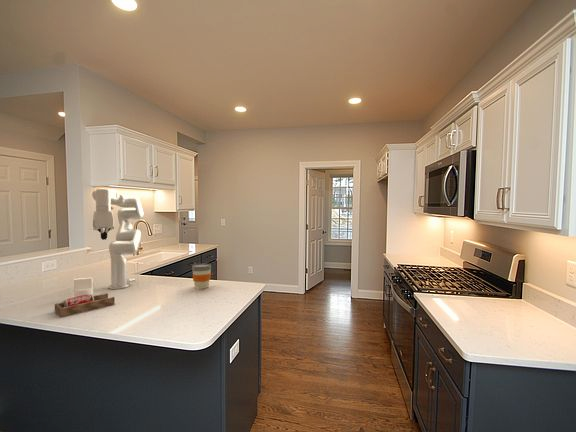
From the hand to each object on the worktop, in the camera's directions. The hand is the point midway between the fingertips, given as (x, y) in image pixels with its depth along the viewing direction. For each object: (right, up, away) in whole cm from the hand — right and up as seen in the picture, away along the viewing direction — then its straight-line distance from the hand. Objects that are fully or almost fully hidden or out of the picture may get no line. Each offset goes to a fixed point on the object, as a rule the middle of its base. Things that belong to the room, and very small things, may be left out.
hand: (104, 239), depth 168 cm
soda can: (+3, -32, -14) cm, 35 cm away
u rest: (+2, -36, -17) cm, 40 cm away
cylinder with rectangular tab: (-11, -35, -1) cm, 37 cm away
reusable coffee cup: (+52, -35, +22) cm, 66 cm away
